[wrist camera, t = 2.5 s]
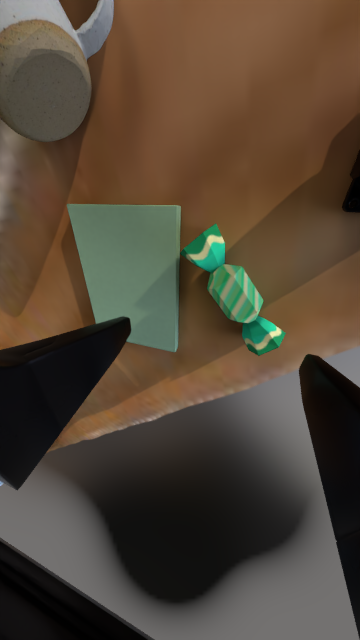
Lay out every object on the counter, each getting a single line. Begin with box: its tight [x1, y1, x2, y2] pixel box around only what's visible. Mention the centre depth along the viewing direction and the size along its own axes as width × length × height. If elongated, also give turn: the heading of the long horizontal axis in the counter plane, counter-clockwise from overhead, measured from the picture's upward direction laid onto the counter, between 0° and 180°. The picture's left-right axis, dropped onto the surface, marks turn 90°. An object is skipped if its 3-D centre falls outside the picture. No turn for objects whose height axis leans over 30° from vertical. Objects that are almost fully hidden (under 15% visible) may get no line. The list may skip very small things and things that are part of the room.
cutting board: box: [67, 204, 181, 352], centre depth 21 cm, size 12×16×1 cm
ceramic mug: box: [0, 0, 114, 142], centre depth 10 cm, size 11×8×8 cm
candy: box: [180, 224, 286, 356], centre depth 17 cm, size 12×3×4 cm
